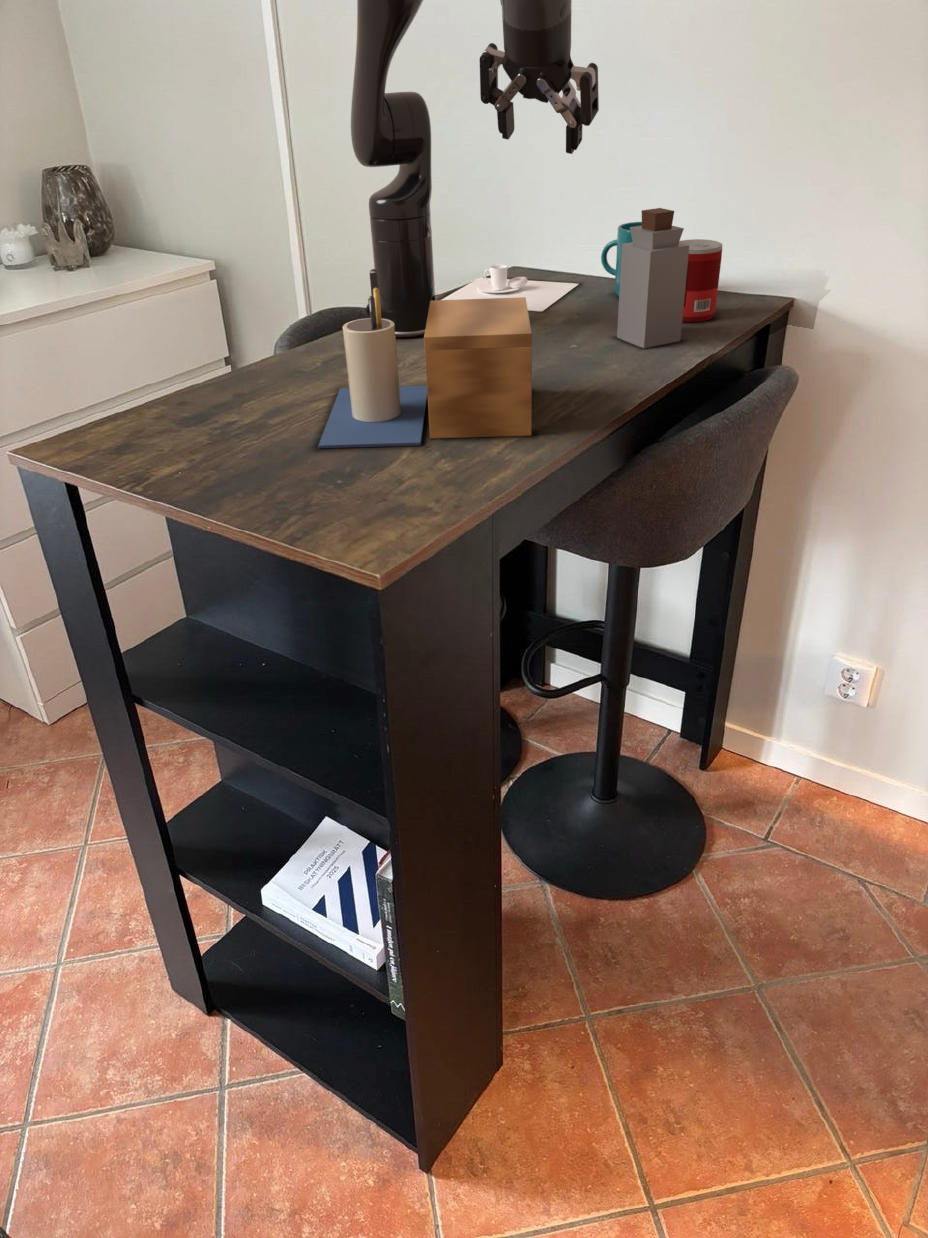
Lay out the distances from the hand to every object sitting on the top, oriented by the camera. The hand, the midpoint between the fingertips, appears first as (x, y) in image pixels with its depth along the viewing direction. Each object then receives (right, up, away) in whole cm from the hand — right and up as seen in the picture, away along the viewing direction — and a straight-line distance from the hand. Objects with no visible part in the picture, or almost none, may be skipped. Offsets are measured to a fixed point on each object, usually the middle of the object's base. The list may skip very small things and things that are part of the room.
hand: (539, 141), depth 113 cm
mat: (-20, -33, +2) cm, 39 cm away
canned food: (+27, -10, +35) cm, 46 cm away
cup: (+20, -2, +48) cm, 52 cm away
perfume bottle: (+19, -17, +25) cm, 36 cm away
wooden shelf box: (-7, -33, +2) cm, 34 cm away
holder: (-20, -33, +2) cm, 39 cm away
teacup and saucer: (-1, 0, +52) cm, 52 cm away
